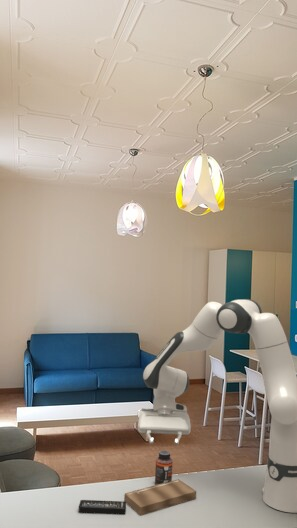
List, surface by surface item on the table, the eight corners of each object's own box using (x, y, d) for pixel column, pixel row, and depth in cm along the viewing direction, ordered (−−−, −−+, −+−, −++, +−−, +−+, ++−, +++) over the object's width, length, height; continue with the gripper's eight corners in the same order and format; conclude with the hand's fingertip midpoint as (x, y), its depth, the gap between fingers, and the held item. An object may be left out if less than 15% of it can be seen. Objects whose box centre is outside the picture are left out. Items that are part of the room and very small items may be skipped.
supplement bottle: (170, 489, 157) (171, 456, 157) (153, 487, 158) (154, 454, 158) (172, 482, 163) (174, 450, 163) (156, 479, 164) (157, 448, 164)
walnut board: (178, 486, 159) (178, 478, 159) (196, 498, 151) (196, 490, 151) (124, 501, 147) (124, 493, 148) (140, 515, 139) (140, 507, 139)
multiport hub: (80, 506, 144) (80, 499, 144) (125, 508, 144) (126, 501, 144) (78, 514, 139) (78, 506, 139) (125, 516, 139) (125, 508, 139)
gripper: (137, 404, 175) (136, 438, 165) (190, 406, 175) (191, 441, 165) (137, 412, 180) (136, 446, 170) (189, 414, 180) (190, 448, 170)
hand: (164, 444), depth 167 cm, fingers open, 8 cm apart
